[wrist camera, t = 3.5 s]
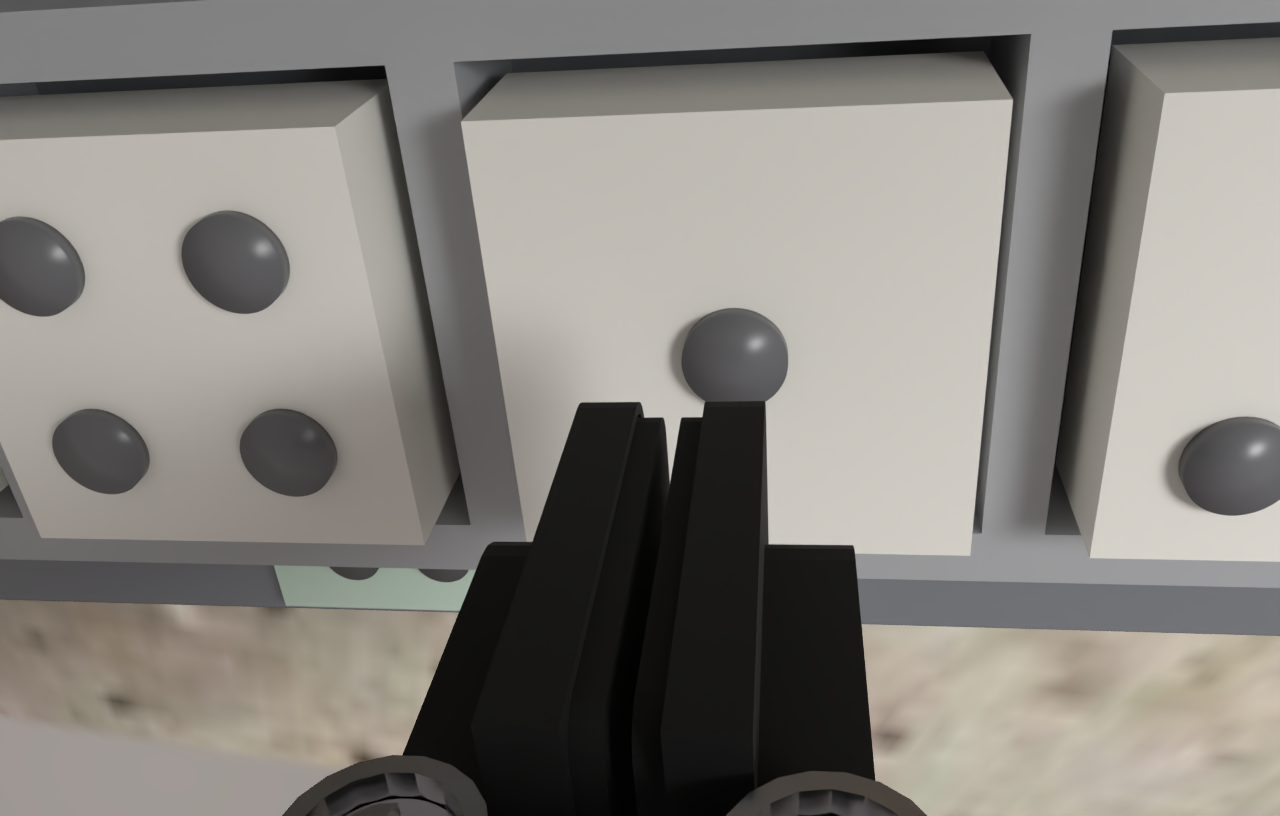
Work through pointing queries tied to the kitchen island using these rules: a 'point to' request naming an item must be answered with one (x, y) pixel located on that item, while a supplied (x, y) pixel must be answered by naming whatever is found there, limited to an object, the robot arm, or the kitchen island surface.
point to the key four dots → (218, 318)
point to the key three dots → (1180, 310)
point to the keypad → (456, 286)
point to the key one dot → (756, 272)
